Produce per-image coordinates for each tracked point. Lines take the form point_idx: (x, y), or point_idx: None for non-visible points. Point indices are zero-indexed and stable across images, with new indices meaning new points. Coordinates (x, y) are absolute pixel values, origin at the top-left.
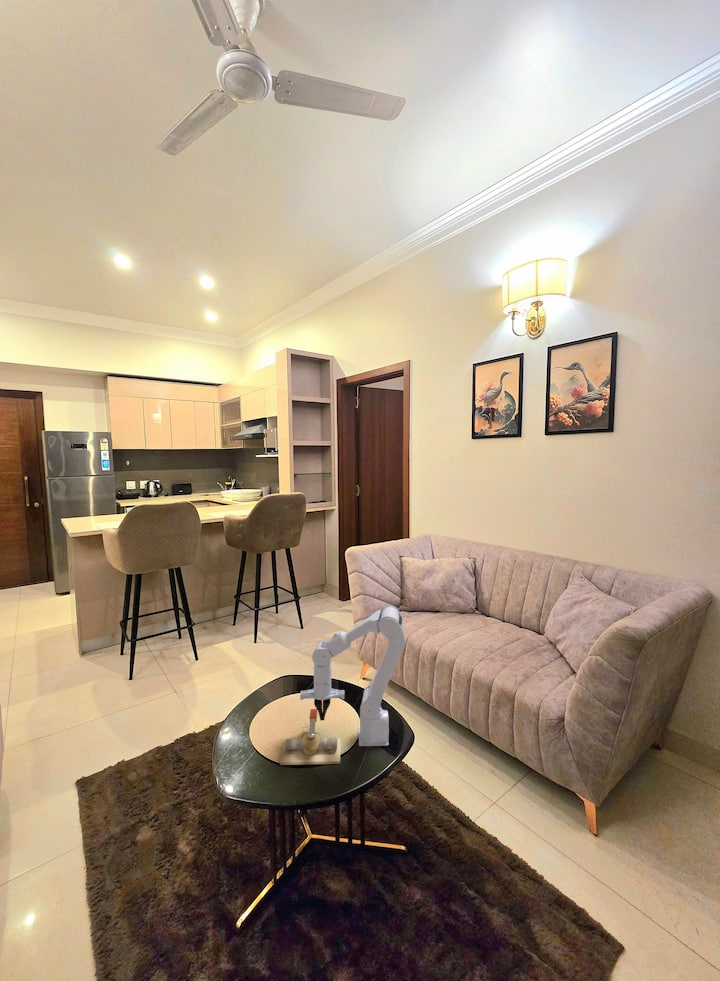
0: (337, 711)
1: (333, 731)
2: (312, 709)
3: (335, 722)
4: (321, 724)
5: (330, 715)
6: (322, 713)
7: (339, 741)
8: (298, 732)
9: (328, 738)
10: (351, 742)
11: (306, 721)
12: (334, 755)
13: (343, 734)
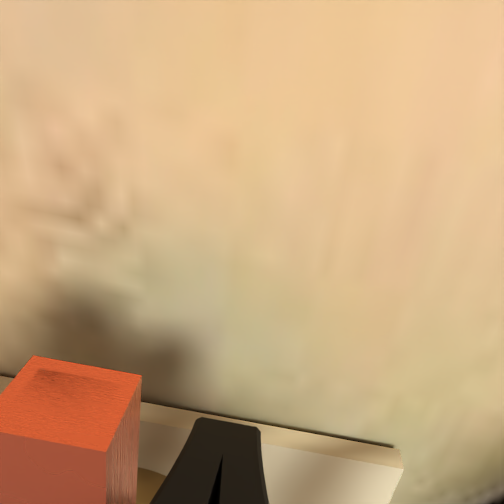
0: None
1: (365, 336)
2: (12, 444)
3: (430, 207)
4: (250, 208)
5: (404, 45)
6: (220, 469)
7: (381, 500)
8: (6, 276)
9: (290, 453)
10: (488, 479)
11: (65, 116)
12: None
13: (454, 391)
